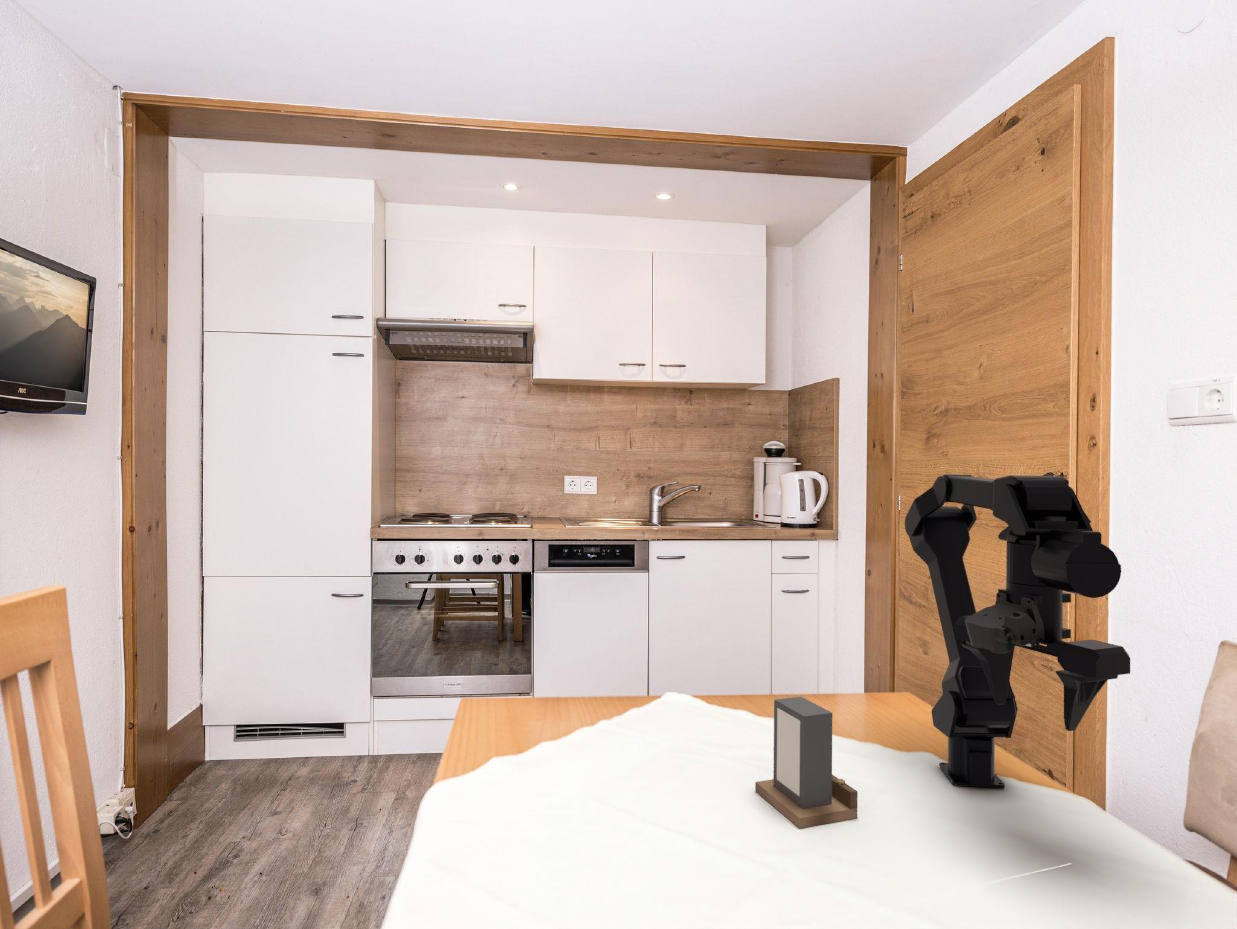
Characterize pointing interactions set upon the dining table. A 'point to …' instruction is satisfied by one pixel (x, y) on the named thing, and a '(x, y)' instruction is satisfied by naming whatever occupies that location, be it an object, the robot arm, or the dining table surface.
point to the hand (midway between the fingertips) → (1033, 716)
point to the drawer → (802, 818)
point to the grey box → (803, 752)
